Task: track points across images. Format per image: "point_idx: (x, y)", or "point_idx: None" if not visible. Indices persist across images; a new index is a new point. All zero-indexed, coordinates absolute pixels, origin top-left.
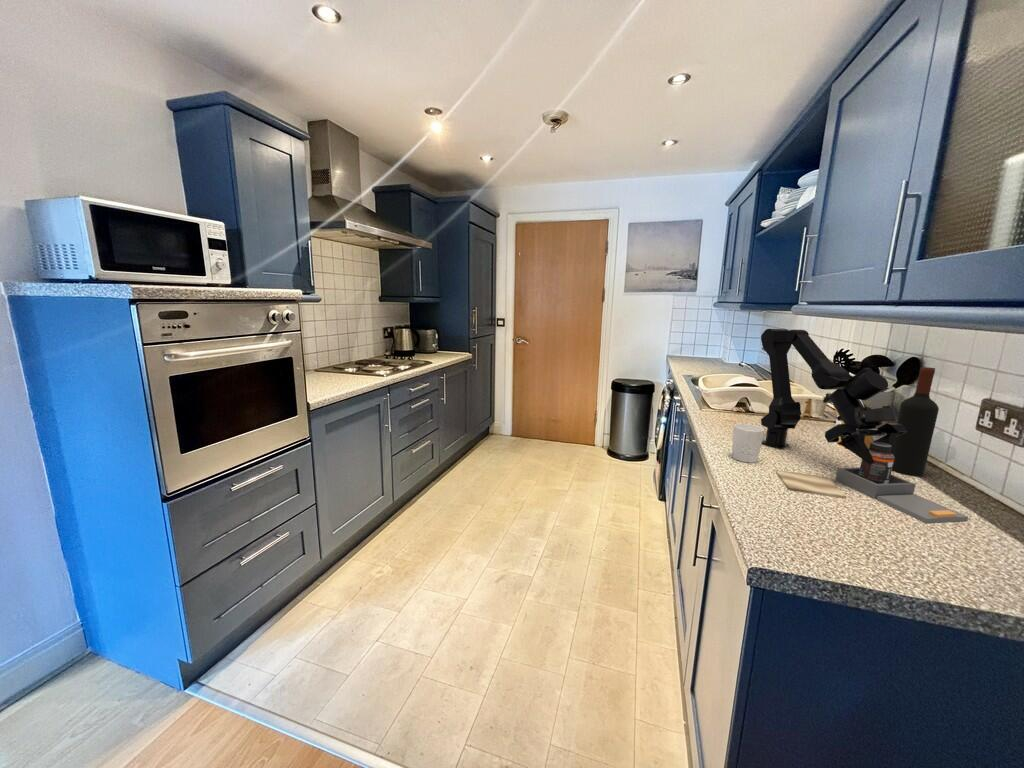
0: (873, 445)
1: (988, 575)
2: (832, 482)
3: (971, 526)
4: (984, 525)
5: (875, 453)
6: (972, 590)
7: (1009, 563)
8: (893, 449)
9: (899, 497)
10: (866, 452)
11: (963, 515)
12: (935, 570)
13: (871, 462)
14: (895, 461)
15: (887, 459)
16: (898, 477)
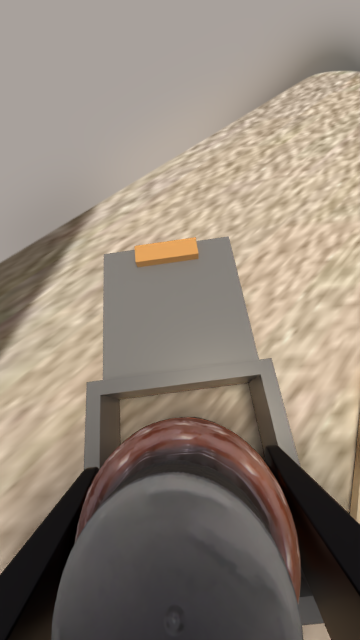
0: (295, 596)
1: (276, 118)
2: (358, 511)
3: (128, 240)
4: (91, 246)
5: (266, 491)
6: (334, 93)
7: (205, 144)
8: (1, 584)
9: (186, 353)
10: (351, 516)
11: (110, 258)
12: (354, 118)
13: (281, 452)
14: (88, 470)
15: (196, 420)
16: (87, 458)
